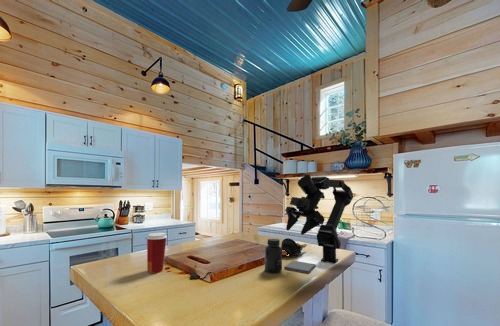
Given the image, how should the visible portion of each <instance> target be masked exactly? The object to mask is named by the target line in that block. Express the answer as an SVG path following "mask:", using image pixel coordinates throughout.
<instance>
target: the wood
mask: <svg viewBox="0 0 500 326" xmlns="http://www.w3.org/2000/svg"><path fill="white" fill-rule="evenodd" d="M189 279H190V280H193V281H197V280H200V281H202V280H203V279H202V278H200V276H199V275H197V274H196V273H195V272H193V271H191V274H190V277H189Z"/></svg>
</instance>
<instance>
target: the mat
mask: <svg viewBox="0 0 500 326" xmlns="http://www.w3.org/2000/svg"><path fill="white" fill-rule="evenodd" d="M316 266H317V265H316V263H311V262H310V263H309V262H304V261H298V260H292V261H290V262H289V263H287V264H286V265H285V266H283V268H284V270H285V271H286V270H288V271H293V272H297V273H298V272H299V273H304V274H308V275H309V274H310V273H311V272H312V271H313V270H314V269H315V268H316Z"/></svg>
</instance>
